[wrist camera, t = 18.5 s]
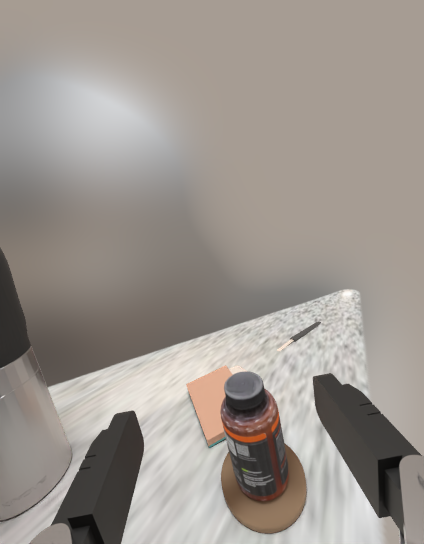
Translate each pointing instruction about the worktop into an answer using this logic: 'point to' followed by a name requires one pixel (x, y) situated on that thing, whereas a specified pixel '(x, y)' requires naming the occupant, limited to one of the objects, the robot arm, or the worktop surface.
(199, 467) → the worktop surface
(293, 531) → the worktop surface
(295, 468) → the coaster
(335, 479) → the worktop surface
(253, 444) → the supplement bottle
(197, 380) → the tile
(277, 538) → the worktop surface
